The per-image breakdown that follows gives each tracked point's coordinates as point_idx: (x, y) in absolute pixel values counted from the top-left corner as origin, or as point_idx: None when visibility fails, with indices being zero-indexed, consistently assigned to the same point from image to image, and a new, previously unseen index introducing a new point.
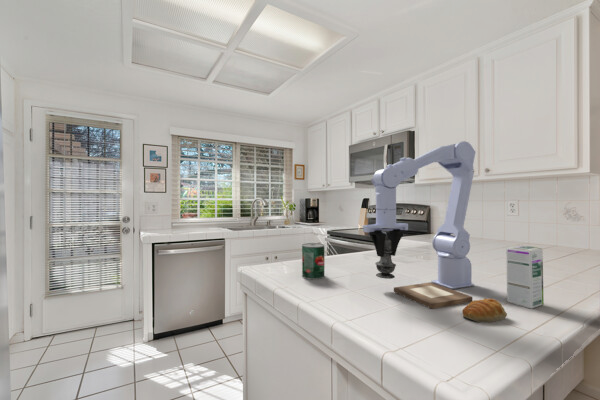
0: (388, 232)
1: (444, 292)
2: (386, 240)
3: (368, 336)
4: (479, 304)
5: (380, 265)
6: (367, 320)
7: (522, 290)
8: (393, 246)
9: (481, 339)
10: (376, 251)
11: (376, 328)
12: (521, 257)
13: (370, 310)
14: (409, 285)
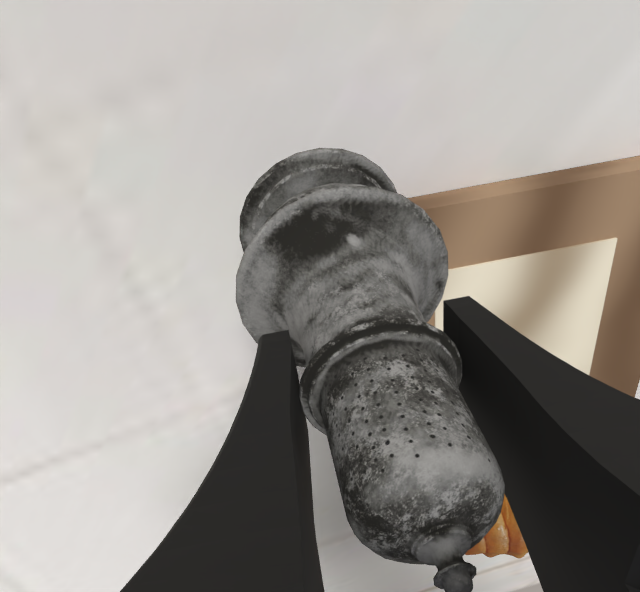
0: (627, 563)
1: (570, 350)
2: (397, 560)
3: (13, 580)
4: (497, 544)
5: (256, 339)
6: (37, 503)
7: None
8: (493, 444)
9: (350, 588)
10: (253, 369)
11: (58, 546)
12: None
13: (80, 430)
14: (497, 200)
